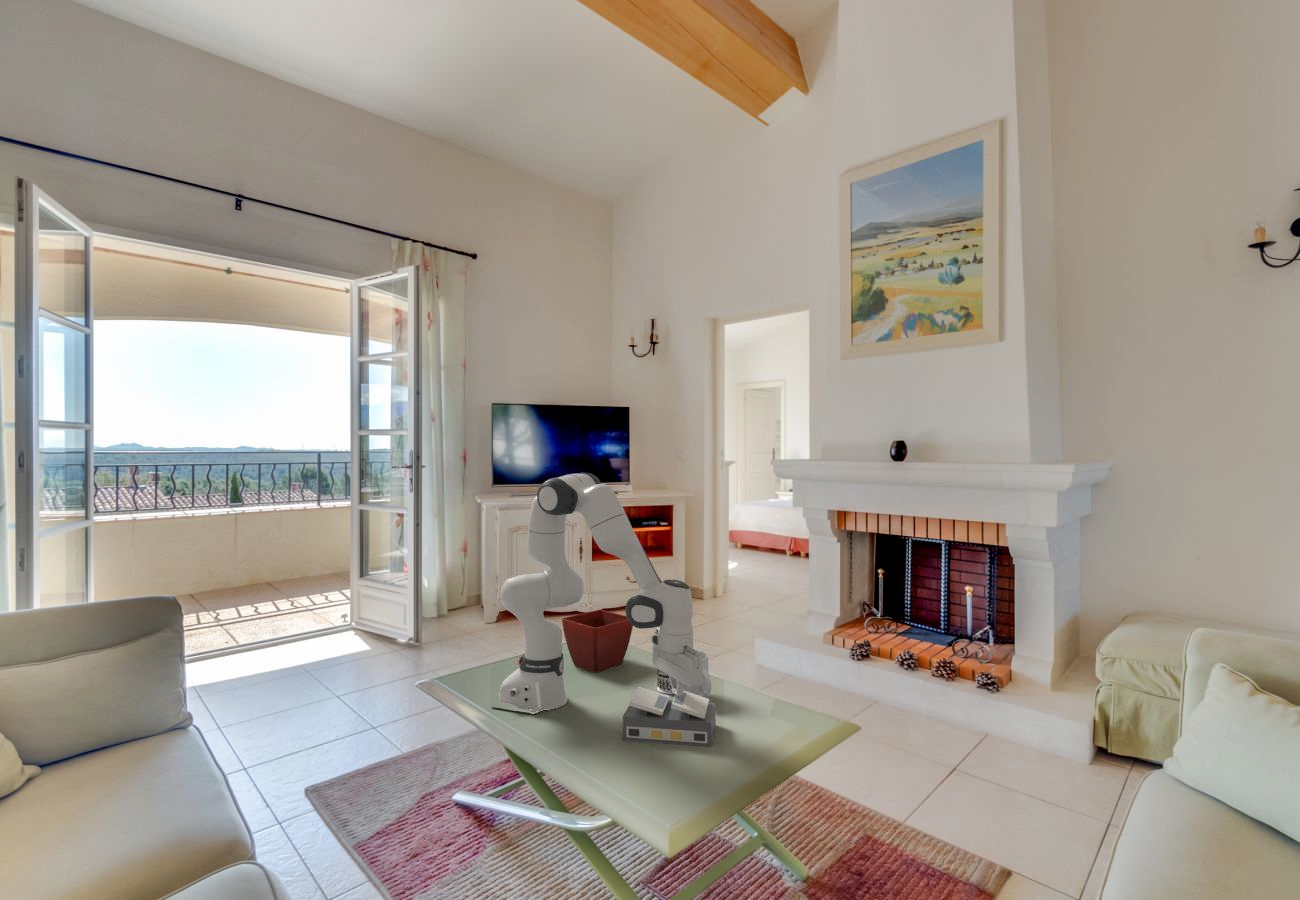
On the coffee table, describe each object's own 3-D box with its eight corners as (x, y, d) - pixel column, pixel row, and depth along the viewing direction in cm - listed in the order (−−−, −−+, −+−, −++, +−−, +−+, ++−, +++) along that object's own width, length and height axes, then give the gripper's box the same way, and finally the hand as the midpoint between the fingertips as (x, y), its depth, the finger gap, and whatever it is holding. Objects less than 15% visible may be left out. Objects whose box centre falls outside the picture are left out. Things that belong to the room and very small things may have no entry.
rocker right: (670, 707, 155) (671, 703, 155) (676, 692, 165) (677, 688, 165) (704, 719, 153) (705, 715, 153) (708, 702, 164) (709, 698, 164)
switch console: (622, 740, 155) (622, 711, 156) (633, 719, 168) (633, 693, 169) (711, 747, 151) (711, 717, 151) (715, 724, 164) (715, 698, 164)
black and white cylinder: (686, 684, 195) (684, 607, 196) (682, 695, 186) (681, 613, 187) (658, 683, 196) (657, 606, 197) (653, 693, 187) (652, 612, 188)
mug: (724, 703, 179) (723, 659, 179) (695, 712, 173) (694, 666, 173) (693, 688, 191) (693, 647, 192) (665, 696, 185) (665, 653, 185)
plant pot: (635, 664, 216) (635, 617, 216) (595, 678, 202) (595, 627, 202) (600, 653, 229) (600, 609, 229) (560, 665, 215) (560, 618, 215)
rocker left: (629, 705, 157) (629, 701, 157) (637, 690, 167) (638, 686, 167) (662, 715, 155) (663, 711, 155) (668, 699, 166) (669, 695, 166)
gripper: (709, 649, 153) (709, 704, 152) (667, 631, 170) (667, 680, 170) (688, 653, 150) (689, 710, 149) (647, 634, 167) (648, 684, 167)
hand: (677, 694), depth 160 cm, fingers closed
